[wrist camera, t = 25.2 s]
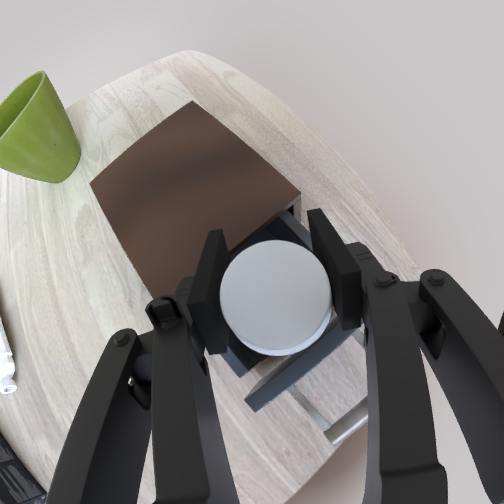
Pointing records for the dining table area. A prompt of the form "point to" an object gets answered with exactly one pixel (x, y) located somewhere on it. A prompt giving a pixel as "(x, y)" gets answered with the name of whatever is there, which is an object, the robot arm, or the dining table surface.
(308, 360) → the drawer
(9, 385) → the squeeze bottle
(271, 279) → the pill bottle
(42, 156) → the flower pot
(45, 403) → the dining table surface
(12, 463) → the box
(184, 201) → the cabinet
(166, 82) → the dining table surface
